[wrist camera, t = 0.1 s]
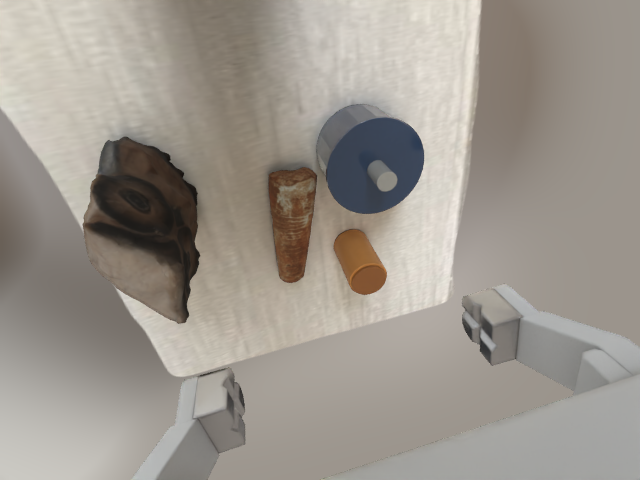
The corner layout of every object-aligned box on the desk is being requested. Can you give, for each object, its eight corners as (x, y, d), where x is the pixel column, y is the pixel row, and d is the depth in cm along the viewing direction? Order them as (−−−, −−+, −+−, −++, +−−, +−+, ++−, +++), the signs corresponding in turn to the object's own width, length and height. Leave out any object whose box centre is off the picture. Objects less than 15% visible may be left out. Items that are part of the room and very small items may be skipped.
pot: (309, 115, 47) (322, 134, 41) (392, 94, 47) (417, 109, 41) (324, 192, 53) (337, 218, 47) (397, 172, 54) (419, 195, 48)
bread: (312, 160, 50) (322, 177, 46) (304, 270, 60) (311, 293, 56) (266, 160, 49) (271, 178, 44) (266, 273, 59) (270, 296, 54)
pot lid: (315, 129, 41) (325, 143, 37) (419, 102, 42) (439, 114, 38) (333, 220, 48) (342, 240, 44) (420, 195, 49) (438, 213, 45)
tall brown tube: (331, 234, 58) (347, 272, 50) (365, 225, 58) (386, 260, 50) (336, 261, 61) (352, 300, 53) (368, 252, 61) (389, 290, 54)
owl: (115, 122, 42) (48, 203, 26) (223, 160, 47) (223, 247, 31) (96, 213, 48) (31, 327, 31) (195, 238, 53) (183, 347, 37)
